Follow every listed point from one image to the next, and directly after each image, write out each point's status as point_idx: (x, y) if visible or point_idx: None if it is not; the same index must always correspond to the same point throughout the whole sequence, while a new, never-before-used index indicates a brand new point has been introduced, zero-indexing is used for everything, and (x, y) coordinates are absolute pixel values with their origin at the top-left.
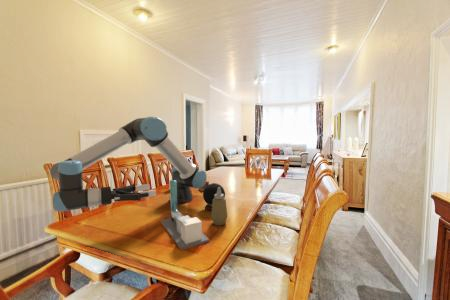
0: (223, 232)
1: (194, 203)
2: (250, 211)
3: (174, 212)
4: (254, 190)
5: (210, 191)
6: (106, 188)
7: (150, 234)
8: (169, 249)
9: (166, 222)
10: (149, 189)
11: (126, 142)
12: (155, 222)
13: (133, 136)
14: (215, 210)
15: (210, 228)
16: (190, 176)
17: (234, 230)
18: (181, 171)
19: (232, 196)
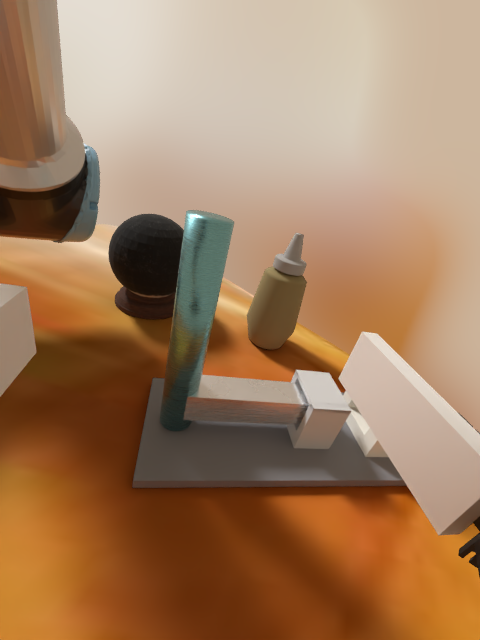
0: (322, 358)
1: (38, 309)
2: (228, 283)
3: (217, 393)
4: (110, 225)
5: (177, 249)
6: None
7: (273, 595)
8: (431, 525)
9: (185, 462)
10: (35, 353)
11: None
12: (105, 522)
13: None
14: (294, 311)
15: (291, 366)
16: (75, 178)
17: (317, 340)
18: (28, 134)
19: (101, 250)
